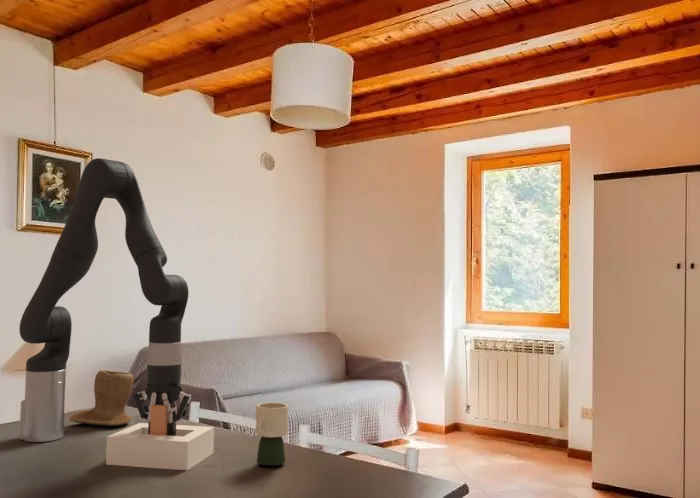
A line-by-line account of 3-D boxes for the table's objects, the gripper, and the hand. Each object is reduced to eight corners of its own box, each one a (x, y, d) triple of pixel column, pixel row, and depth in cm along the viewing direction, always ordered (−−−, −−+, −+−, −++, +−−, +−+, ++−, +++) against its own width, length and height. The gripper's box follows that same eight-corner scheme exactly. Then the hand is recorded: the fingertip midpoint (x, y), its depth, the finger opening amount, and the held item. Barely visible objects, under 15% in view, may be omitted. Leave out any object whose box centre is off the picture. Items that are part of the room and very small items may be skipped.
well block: (106, 464, 136) (107, 436, 137) (139, 447, 150) (139, 422, 150) (187, 470, 133) (188, 441, 133) (213, 452, 147) (214, 427, 147)
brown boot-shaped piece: (141, 421, 178) (143, 368, 179) (114, 431, 167) (116, 374, 168) (96, 417, 183) (98, 366, 183) (67, 426, 171) (69, 371, 172)
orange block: (149, 450, 140) (150, 405, 140) (159, 445, 144) (160, 401, 145) (163, 451, 139) (165, 405, 140) (173, 446, 143) (174, 402, 144)
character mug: (270, 456, 144) (272, 399, 145) (297, 460, 141) (298, 402, 142) (243, 468, 134) (244, 407, 135) (270, 473, 131) (272, 411, 132)
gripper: (127, 362, 140) (124, 440, 139) (185, 365, 138) (183, 444, 137) (144, 358, 148) (141, 432, 147) (200, 361, 145) (198, 436, 144)
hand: (162, 437), depth 142 cm, fingers closed on orange block, 3 cm apart
